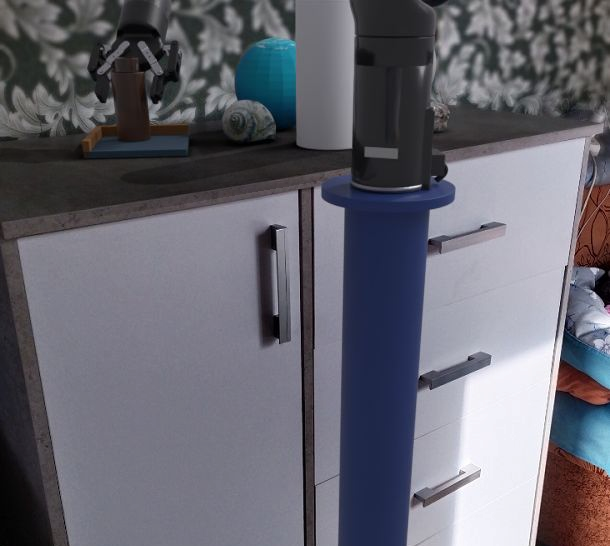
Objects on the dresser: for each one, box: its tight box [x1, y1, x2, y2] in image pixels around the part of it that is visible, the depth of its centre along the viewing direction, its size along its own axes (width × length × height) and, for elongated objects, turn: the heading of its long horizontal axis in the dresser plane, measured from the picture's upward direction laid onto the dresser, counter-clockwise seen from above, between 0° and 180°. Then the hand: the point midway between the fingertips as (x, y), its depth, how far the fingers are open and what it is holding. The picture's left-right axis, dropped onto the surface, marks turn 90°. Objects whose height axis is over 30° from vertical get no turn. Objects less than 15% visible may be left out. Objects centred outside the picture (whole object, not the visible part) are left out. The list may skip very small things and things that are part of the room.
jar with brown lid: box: [111, 57, 151, 142], centre depth 119 cm, size 5×5×12 cm
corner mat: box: [81, 123, 190, 159], centre depth 119 cm, size 15×15×2 cm
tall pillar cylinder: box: [294, 0, 356, 151], centre depth 117 cm, size 11×11×25 cm
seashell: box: [221, 100, 277, 145], centre depth 123 cm, size 6×8×12 cm
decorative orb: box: [233, 37, 296, 130], centre depth 134 cm, size 15×15×15 cm
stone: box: [431, 101, 451, 133], centre depth 133 cm, size 13×6×10 cm
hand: (127, 100), depth 118 cm, fingers open, 8 cm apart
